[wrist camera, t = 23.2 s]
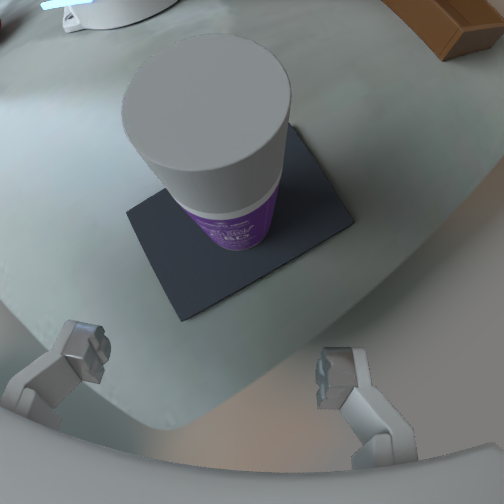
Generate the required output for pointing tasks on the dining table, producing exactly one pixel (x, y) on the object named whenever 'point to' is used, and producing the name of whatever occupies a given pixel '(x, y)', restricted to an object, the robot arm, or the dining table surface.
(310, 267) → the dining table surface
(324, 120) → the dining table surface
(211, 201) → the container
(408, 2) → the wooden tray
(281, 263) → the pad
